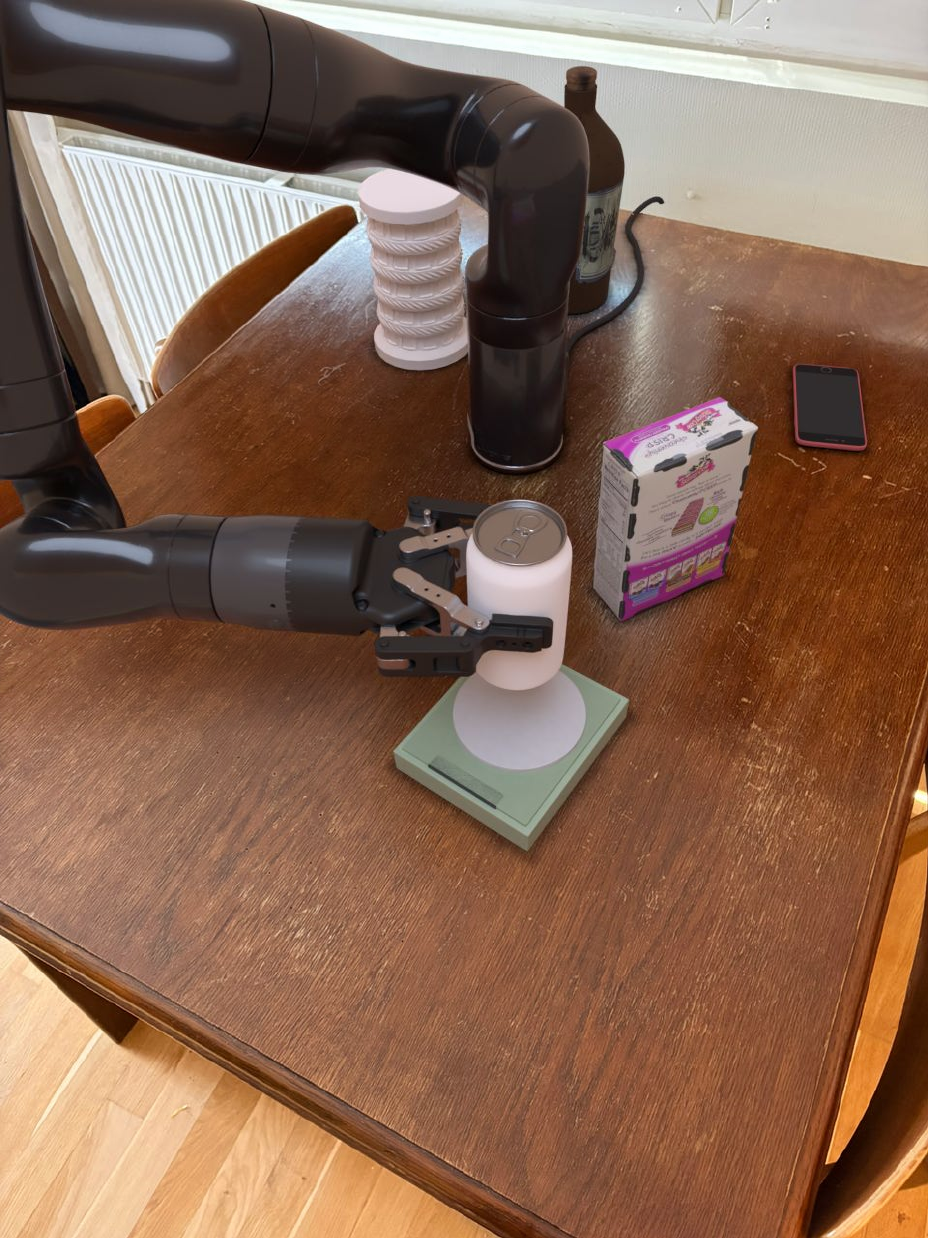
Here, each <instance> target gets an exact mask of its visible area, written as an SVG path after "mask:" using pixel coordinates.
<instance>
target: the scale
mask: <svg viewBox="0 0 928 1238" xmlns="http://www.w3.org/2000/svg"><path fill="white" fill-rule="evenodd" d="M629 702H630V699H629V698H627V697H625V696H624V695H622V694H620V693H618V692H616V691H614V690H612V689H610V688H608V687H607V686H604V685H603V684H601V683H599V682H597V681H596V680H593V679H592V678H590V677H587V676H585V675H583V674H582V673H580V672H578V671H576V670H574V669H572V668H570V667H569V666H567V665H566V664H565V665H564V664H563V663H562V664H561V666H560V668H559V670H558V672H557V673H556V674H555V675H554V676H553V677H552V678H551V679H550V680H549V681H547V682H546V683H544V684H542V685H540V686H538V687H535V688H531V689H526V690H509V689H504V688H500V687H497V686H495V685H493V684H491V683H489V682H487V681H486V680H484V679H483V678H482V677H481V676H480V675H479V674H478V673H477V671H476V672H475V673H474V674H473V675H472V676H468V677H458V679H456V681H455V682H454V683H453V684H452V685H451V686H450V688H448V689H447V690H446V692H444V694H443V695H442V696H441V697H440V698H439V700H438V701H437V702H436V703H435V704H434V705H433V706H432V707H431V709H429V711H428V712H427V713H426V714H425V715H424V716H423V717H422V719H420V721H419V722H418V723H417V724H416V725H415V726H414V727H413V729H412V730H410V732H409V733H408V734H407V735H406V736H405V737H404V738H403V740H402V741H401V742H400V743H399V744H398V745H397V746H396V747H395V749H394V750H393V751H392V752H393V757H394V763H395V767H396V769H397V770H398V771H401V772H402V773H403V774H405V775H407V776H408V777H410V778H411V779H413V780H414V781H416V782H417V783H419V784H420V785H422V786H424V787H425V788H427V789H429V790H430V791H431V792H433V793H435V794H436V795H438V796H440V797H441V798H443V799H444V800H446V801H447V802H449V803H450V804H452V805H454V806H455V807H456V808H458V809H460V810H461V811H463V812H465V813H466V814H467V815H469V816H471V817H472V818H474V819H475V820H477V821H479V822H480V823H481V824H483V825H485V826H486V827H488V828H489V829H491V830H493V831H494V832H496V833H497V834H498V835H500V836H502V837H503V838H505V839H507V840H508V841H509V842H511V843H513V844H514V845H516V846H518V847H519V848H521V849H522V850H524V851H525V852H529V851H530V849H531V848H532V846H533V845H534V844H535V842H536V841H537V839H538V838H539V837H540V835H541V834H542V833H543V831H544V830H545V828H546V827H547V826H548V825H549V823H550V822H551V821H552V819H553V818H554V817H555V815H556V814H557V813H558V811H559V809H561V807H562V805H563V804H564V803H565V801H566V800H567V798H569V796H570V795H571V793H572V792H573V791H574V789H575V788H576V786H577V785H578V783H580V781H581V780H582V778H583V777H584V775H586V773H587V772H588V770H589V769H590V767H591V766H592V764H593V763H594V762H595V761H596V760H597V758H598V757H599V755H600V753H601V752H602V751H603V749H604V748H605V747H606V745H607V744H608V743H609V742H610V740H611V739H612V737H613V736H614V735H615V733H616V732H617V730H618V729H619V728H620V726H621V725H622V724H623V722H624V721H625V719H626V718H627V714H628V709H629Z"/></svg>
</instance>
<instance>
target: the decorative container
mask: <svg viewBox="0 0 928 1238" xmlns="http://www.w3.org/2000/svg"><path fill="white" fill-rule="evenodd" d="M357 190H358V191H357V193H358V194H357V195H358V196H357V197H358V203H359V208H360V209H361V211H362V213H363V214H365V215H366V216H367V220H366V226H365V232H366V236H367V238H368V241H369V242H370V244H371V249H370V253H369V262H370V265H371V268H372V271H374V277H373V283H372V284H373V291H374V293H375V296H376V298H377V303H376V304H377V305H376V315H377V318H378V319H377V320H378V322H379V323H378V324H377V326H376V328H375V330H374V333H373V341H374V348H375V351H376V353H377V355H378V357H379V358H380V359H382V360H383V361H384V362H385V363H387V364H389V365H390V366H393V367H396V368H400V369H403V370H409V371H428V370H429V371H430V370H435V369H439V368H443V367H447V366H450V365H452V364H454V363H456V362H458V361H460V360H461V359H463V358H464V357H465V356H466V355H468V337H467V317H465V313H466V302H465V300H464V296H463V290H464V287H465V276H463V275H464V273H463V270H462V269H461V265H462V261H463V255H464V252H463V251H464V250H463V248H462V243H461V242H460V235H461V232H462V227H461V226H462V219H461V215H460V212H459V208H461V206H462V205H463V201H464V197H465V196H464V195H463V194H461V193H459V192H457V191H456V190H454V189H452V188H449V187H447V186H445V185H442V184H440V183H437V182H434V181H432V180H429V179H426V178H423V177H420V176H416V175H413V174H410V173H406V172H402V171H398V170H394V169H389V168H385V169H383V170H381V171H378V172H376V173H374V174H372V175H369V176H368V177H367V178H366V179H365V180H363V181H362V182H361V183H360V185H359V187H358V189H357Z"/></svg>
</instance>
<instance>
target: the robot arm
mask: <svg viewBox="0 0 928 1238" xmlns="http://www.w3.org/2000/svg"><path fill="white" fill-rule="evenodd" d="M8 111H14V112H24V113H32V114H39V115H47V116H53V117H59V118H64V119H69V120H74V121H78V122H82V123H86V124H89V125H93V126H97V127H100V128H104V129H107V130H110V131H112V132H113V131H114V132H117V133H119V134H123V135H127V136H130V137H132V138H137V139H141V140H144V141H148V142H151V143H155V144H159V145H163V146H165V147H166V146H167V147H169V148H173V149H178V150H182V151H185V152H190V153H194V154H198V155H202V156H206V157H210V158H214V159H217V160H221V161H226V162H230V163H235V164H241V165H245V166H251V167H256V168H260V169H264V170H265V169H267V170H271V171H276V172H279V173H286V174H287V173H288V174H296V175H309V176H321V175H331V174H338V173H344V172H350V171H357V170H361V169H368V168H382V169H394V170H398V171H402V172H406V173H410V174H413V175H416V176H420V177H423V178H426V179H429V180H432V181H434V182H437V183H440V184H442V185H445V186H447V187H449V188H452V189H454V190H456V191H457V192H459V193H461V194H463V196H464V197H466V198H467V199H468V200H470V201H471V202H472V203H474V204H475V205H477V206H478V207H480V208H481V209H482V210H484V211H485V212H487V244H485V245H483V246H481V247H479V248H478V249H476V250H475V251H473V253H472V254H471V255H470V256H469V258H468V259H467V261H466V264H465V268H464V287H465V288H464V289H465V290H464V291H465V292H464V293H465V313H466V314H465V315H466V317H465V318H467V337H468V352H467V355H468V356H467V357H468V358H467V360H468V379H469V380H468V381H469V382H468V383H469V401H470V402H469V404H470V406H469V407H470V416H469V414H468V413H467V415H466V416H467V417H466V418H467V428H468V430H469V431H468V432H469V434H470V448H471V453H472V454H473V457H474V458H475V459H476V460H477V461H478V462H479V464H481V465H483V466H484V467H485V468H488V469H489V470H492V471H494V472H498V473H501V474H502V473H503V474H507V475H508V474H509V475H524V474H530V473H534V472H538V471H540V470H543V469H545V468H547V467H549V466H550V465H552V464H553V463H554V462H555V461H556V460H557V459H559V457H560V455H561V453H562V450H563V442H564V441H563V440H564V439H563V438H564V434H565V433H566V422H567V421H566V420H567V403H568V383H569V364H570V356H569V355H570V351H571V349H572V348H573V346H574V345H575V344H576V342H577V341H578V340H579V339H580V338H582V337H583V336H584V335H585V334H587V333H589V332H591V331H592V330H595V329H596V328H598V327H600V326H602V325H604V324H606V323H608V322H609V321H611V320H612V319H614V318H615V317H617V316H618V315H619V314H621V312H623V311H624V310H625V309H626V308H627V307H628V306H629V305H630V304H631V303H632V302H633V300H634V299H635V298H636V296H637V295H638V293H639V292H640V289H641V287H642V284H643V282H644V278H645V265H644V261H643V257H642V252H641V247H640V245H639V241H638V240H637V238H636V236H635V234H634V232H633V231H632V224H633V222H634V220H635V219H636V218H637V217H638V215H639V214H640V213H642V211H643V210H645V209H646V208H647V207H649V206H650V205H652V204H655V203H658V204H659V205H664V204H665V200H664V199H663V198H662V197H661V196H656V195H655V196H652V197H650V198H648V199H646V200H645V201H643V202H641V204H639V205H638V206H637V207H636V208H635V209H634V210H633V211H632V213H633V214H634V215H632V213H630V215H629V217H628V218H627V220H626V223H625V227H624V228H625V229H624V230H625V234H626V235H627V238H628V239H629V241H630V243H631V246H632V247H633V251H634V256H635V259H636V264H637V278H636V281H635V285H634V286H633V288H632V290H631V291H630V293H629V294H628V296H626V298H625V299H623V301H622V302H621V303H620V304H619V305H617V307H615V308H614V309H613V310H612V311H610V312H609V313H607V314H606V315H604V316H602V317H600V318H598V319H596V320H595V321H592V322H590V323H588V324H587V325H584V326H583V327H581V328H580V329H579V330H577V331H576V332H574V333H573V334H572V335H571V337H570V338H569V339H568V325H569V320H568V319H569V314H568V303H569V288H570V279H571V276H572V274H573V272H574V270H575V267H576V265H577V263H578V260H579V256H580V252H581V246H582V238H583V229H584V220H585V211H586V202H587V193H588V183H589V167H590V160H589V146H588V141H587V136H586V133H585V130H584V127H583V125H582V124H581V122H580V120H579V119H578V118H577V117H576V116H575V115H574V114H573V113H572V112H571V111H569V110H568V109H566V108H565V107H564V106H563V105H561V104H560V103H558V102H556V101H554V100H552V99H550V98H548V97H546V96H545V95H543V94H541V93H539V92H537V91H536V90H533V89H532V88H530V87H528V86H526V85H524V84H522V83H520V82H518V81H514V80H511V79H507V78H501V77H494V76H488V75H487V76H486V75H481V74H471V73H464V72H458V71H452V70H446V69H440V68H435V67H430V66H424V65H419V64H415V63H411V62H409V61H405V60H402V59H399V58H397V57H394V56H393V55H390V54H388V53H386V52H384V51H382V50H379V49H378V48H376V47H374V46H372V45H369V44H368V43H365V42H363V41H361V40H359V39H356V38H354V37H352V36H349V35H347V34H344V33H342V32H340V31H337V30H334V29H332V28H329V27H326V26H323V25H320V24H318V23H315V22H313V21H310V20H307V19H304V18H302V17H299V16H296V15H293V14H289V13H286V12H283V11H280V10H278V9H273V8H270V7H267V6H265V5H264V6H263V5H261V4H257V3H254V2H251V1H249V0H0V482H10V483H11V485H12V487H13V489H14V491H15V492H16V494H17V496H18V498H19V499H20V500H19V501H21V505H22V506H23V511H24V513H23V514H22V515H20V516H18V517H17V518H15V519H13V520H11V521H10V522H9V523H8V522H7V524H5V525H4V526H1V527H0V615H1V616H3V617H4V618H6V619H8V620H10V621H12V622H15V623H17V624H18V625H19V624H20V625H22V626H26V627H29V628H34V629H39V630H46V631H74V630H75V631H77V630H87V629H88V630H89V629H97V628H105V627H112V626H113V627H115V626H121V625H130V624H136V623H140V622H144V621H145V622H147V621H151V620H152V621H153V620H160V619H161V620H162V619H172V620H179V621H185V622H186V621H188V622H200V623H216V624H217V623H218V624H229V625H237V626H242V627H246V628H251V629H256V630H263V631H275V632H276V631H277V632H289V633H303V634H304V633H306V634H317V635H318V634H320V635H333V636H347V637H360V636H363V635H364V634H366V633H367V631H368V632H372V633H374V634H376V635H378V636H379V637H377V639H376V640H375V641H374V642H373V647H374V653H375V660H376V664H377V671H378V673H379V675H381V676H382V677H384V678H434V677H435V678H460V677H468V676H472V675H473V674H474V673H475V672H476V665H477V663H478V662H479V660H480V658H481V657H482V655H483V654H484V653H486V652H487V651H491V650H499V651H513V652H516V651H517V652H527V653H535V652H539V651H542V649H547V648H550V647H551V646H552V637H553V620H552V619H551V618H548V617H538V616H523V615H508V614H493V613H492V620H489V618H488V617H487V616H486V615H484V614H482V613H480V612H478V611H476V610H474V609H472V608H470V607H468V605H466V604H464V603H463V602H462V600H461V598H460V597H459V596H458V595H457V594H454V593H453V591H452V590H453V589H454V587H455V585H456V579H458V578H461V577H465V576H467V566H466V551H467V544H468V541H469V538H470V536H471V534H472V530H473V525H474V523H471V522H464V521H462V520H461V519H464V520H471V521H475V520H476V519H477V517H478V516H479V515H480V514H481V513H482V512H483V511H484V510H485V509H487V508H488V507H490V506H492V504H488V503H482V502H473V501H465V500H464V501H463V500H456V499H447V498H438V497H430V496H422V495H412V496H410V497H409V498H408V499H407V501H406V506H407V515H406V518H405V521H404V524H403V526H400V527H397V528H393V529H388V530H386V529H385V530H383V529H379V528H377V527H376V526H374V524H372V523H371V522H369V520H366V519H360V518H359V519H357V518H340V517H339V518H338V517H321V516H302V515H288V514H287V515H286V514H265V513H264V514H252V515H251V514H250V515H232V516H231V515H217V514H216V515H215V514H197V513H166V514H165V513H164V514H159V515H156V516H153V517H150V518H148V519H146V520H143V521H140V522H139V523H135V524H133V525H129V526H128V525H127V521H126V518H125V514H124V512H123V510H122V507H121V505H120V502H119V500H118V498H117V497H116V494H115V493H114V491H113V489H112V487H111V485H110V482H109V480H108V479H107V477H106V476H105V474H104V472H103V470H102V467H101V465H100V463H99V462H98V460H97V458H96V456H95V455H94V453H93V451H92V450H91V448H90V447H89V445H88V444H87V443H88V442H87V441H86V439H85V437H84V435H83V433H82V431H81V426H80V421H79V417H78V413H77V410H76V405H75V401H74V398H73V394H72V390H71V386H70V382H69V379H68V375H67V371H66V370H67V369H66V367H65V362H64V359H63V356H62V352H61V348H60V344H59V342H58V338H57V334H56V332H55V327H54V324H53V320H52V316H51V312H50V309H49V306H48V302H47V298H46V293H45V291H44V287H43V283H42V279H41V276H40V272H39V268H38V264H37V260H36V256H35V252H34V249H33V244H32V240H31V236H30V232H29V228H28V223H27V218H26V214H25V209H24V205H23V199H22V194H21V188H20V185H19V177H18V172H17V165H16V161H15V160H16V159H15V154H14V147H13V141H12V135H11V129H10V122H9V112H8ZM450 549H453V554H452V552H451V551H450ZM417 629H419V630H421V631H422V632H424V633H426V634H428V635H410V634H408V633H411V632H413V631H415V630H417Z"/></svg>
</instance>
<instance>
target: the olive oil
mask: <svg viewBox="0 0 928 1238" xmlns="http://www.w3.org/2000/svg"><path fill="white" fill-rule="evenodd" d="M597 77H598V71H597V70H596V68H594V67H591V66H589V65H588V66H586V65H578V66H577V65H576V66H572V67H570V68H568V69H566V73H565V80H566V83H565V85H564V93H563V96H564V97H563V105H564V106H563V107H565V108H566V109H568V110H569V111H571V112H572V113H573V114H574V115H575V116H576V117H577V118H578V119H579V120H580V122H581V124H582V125H583V127H584V130H585V133H586V136H587V141H588V146H589V160H590V167H589V183H588V193H587V202H586V211H585V220H584V229H583V238H582V246H581V252H580V256H579V260H578V263H577V265H576V267H575V270H574V272H573V274H572V276H571V279H570V288H569V303H568V315H580V314H586V313H589V312H592V311H594V310H597V309H598V308H600V307H602V305H603V304H605V302H606V301H607V299H608V297H609V290H610V283H611V282H610V281H611V273H612V268H613V266H614V265H615V260H616V254H617V250H616V249H615V244H616V243H615V242H616V236H617V230H618V229H617V228H618V221H619V214H620V207H621V200H622V195H623V187H624V180H625V169H626V166H625V165H626V164H625V163H626V162H625V156H624V152H623V151H624V150H623V148H622V144H621V142H620V140H619V138H618V136H617V135H616V134H615V132H614V131H613V130H612V128H611V127H610V126H609V125H608V124H607V123H606V121H605V120H604V119H603V118H602V116H601V115H600V114H599V112H598V111H597V108H596V104H597V93H598V84H597V82H596V81H597Z"/></svg>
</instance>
